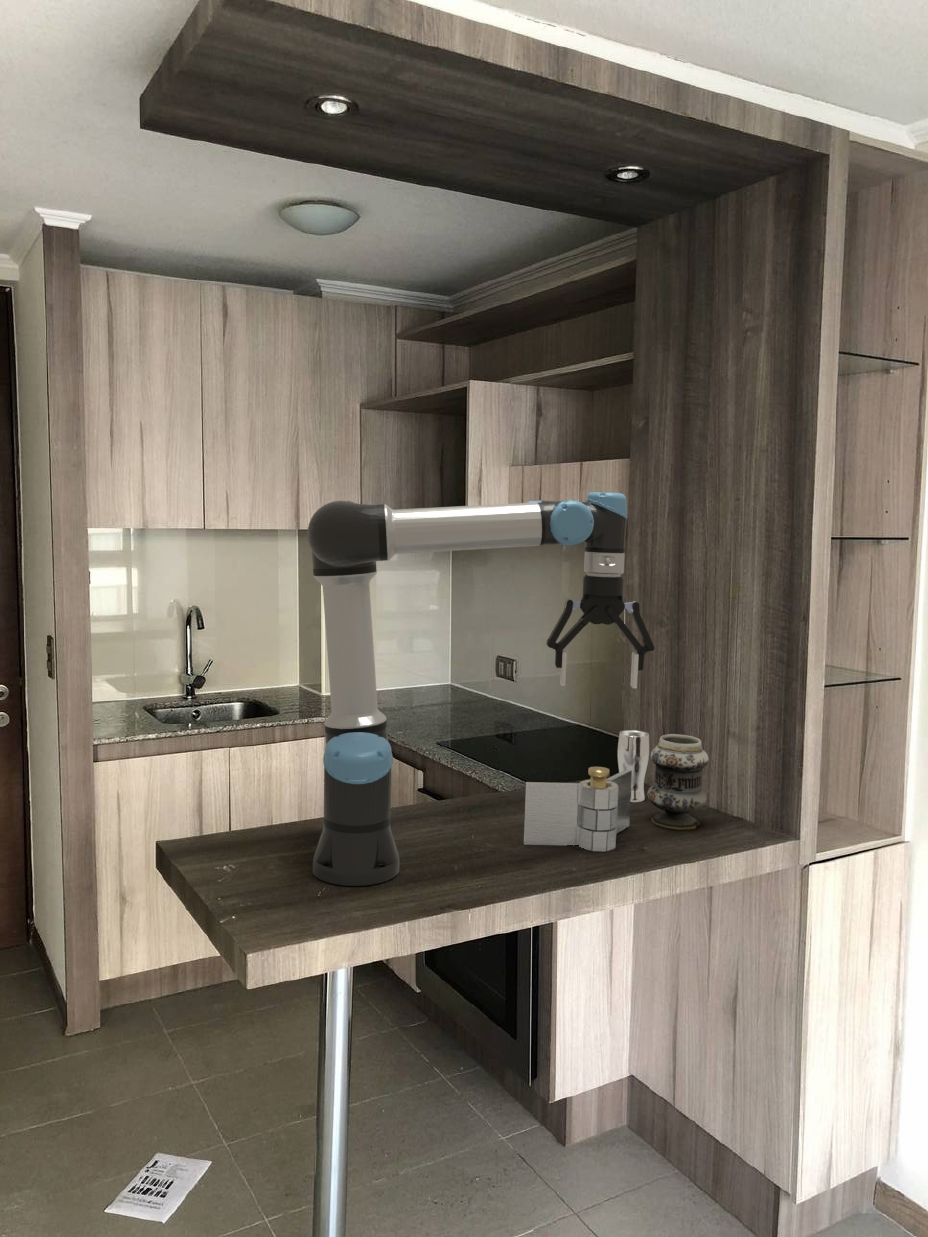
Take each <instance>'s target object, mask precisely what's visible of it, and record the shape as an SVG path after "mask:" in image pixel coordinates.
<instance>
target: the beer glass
mask: <svg viewBox="0 0 928 1237" xmlns="http://www.w3.org/2000/svg"><path fill="white" fill-rule="evenodd" d="M649 757H650V734H649V732H646V731H642V730H633V729H632V730H629V729H628V730H626V729H625V730H621V731H620V732H619V736H618V743H617V764H618V773H620V772H622V771H624V770H626V769H627V770H632V778H631V798H630V803H642V802H643V801H645V798H646V797H645V789H644V788H645V787H644V785H645V776H646V772H647V767H648V764H649V760H650V758H649Z"/></svg>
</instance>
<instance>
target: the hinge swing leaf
mask: <svg viewBox="0 0 928 1237" xmlns="http://www.w3.org/2000/svg"><path fill="white" fill-rule="evenodd" d="M631 778H632V770H627V769H626V770H624V771H622V772H620V773H619V772H618V773H615V774H613V775H612V776H609V777H608V778H607V777H606V780H607V781H611V782H614V783H616V784H617V785H618V805H617V807H614V808H611V809H591V808H588V807H584V806H582V805H581V804H578V814H577V825H578V824H579V825H580V826H581V827H583V828H587V829H591V830H597V831H598V830H611V829H613V828H615V827H616V835H618V833H620V832H622V831H624V830H625V829H626V828H627V829H628V828H629V827H630V816H631V812H630V811H631V802H630V798H631Z"/></svg>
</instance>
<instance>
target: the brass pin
mask: <svg viewBox="0 0 928 1237" xmlns="http://www.w3.org/2000/svg"><path fill="white" fill-rule="evenodd" d="M587 775H588V776H590V779H591V782H590V786H591V787H595V788H606V779H607V777H608V778H609V777H610V768H608V767H604V766H590V767H588V774H587Z"/></svg>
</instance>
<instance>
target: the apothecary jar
mask: <svg viewBox="0 0 928 1237" xmlns="http://www.w3.org/2000/svg"><path fill="white" fill-rule="evenodd" d="M708 755H709V754H707V752H706V751H705V750H704V749H703V747H702V740H701V739H700V738H698V737H695V736H692V735H687V734H678V733H670V734H669V733H668V734H664V735H661V736H660V738H659V742H658V744H657V745H656V746H654V747H653V749H651V752H650V760H651V761H652V763H654V764H655V774H654V780H653V781H654V782H653V784H652V785H650V787H649V788H648V790H647V793H646V794H647V798H648V801H649V802H650V803H651V804H652V805H653V806H655V807H656V808H658V809H660V810H662V811H663V812H661V813H657V814H654V815H653V816H652V817H651V822H652V823H653V824H654V825H656V826H658V827H661V828H663V829H664V828H665V829H669V830H675V831H676V830H680V831H684V830H685V831H687V830H688V831H689V830H694V829H696V828H697V826H700V821H699V820H698V819H697V818H695V817H693V816H691V815H689V814H688V813H693V812H696V811H699V810H701V809H702V808H703V807H704V805H706V802H707V795H706V792H704V790H703V789H702V775H703V774H702V773H703V769H704V768H706V766H707V765H708V763H709V756H708Z"/></svg>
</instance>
